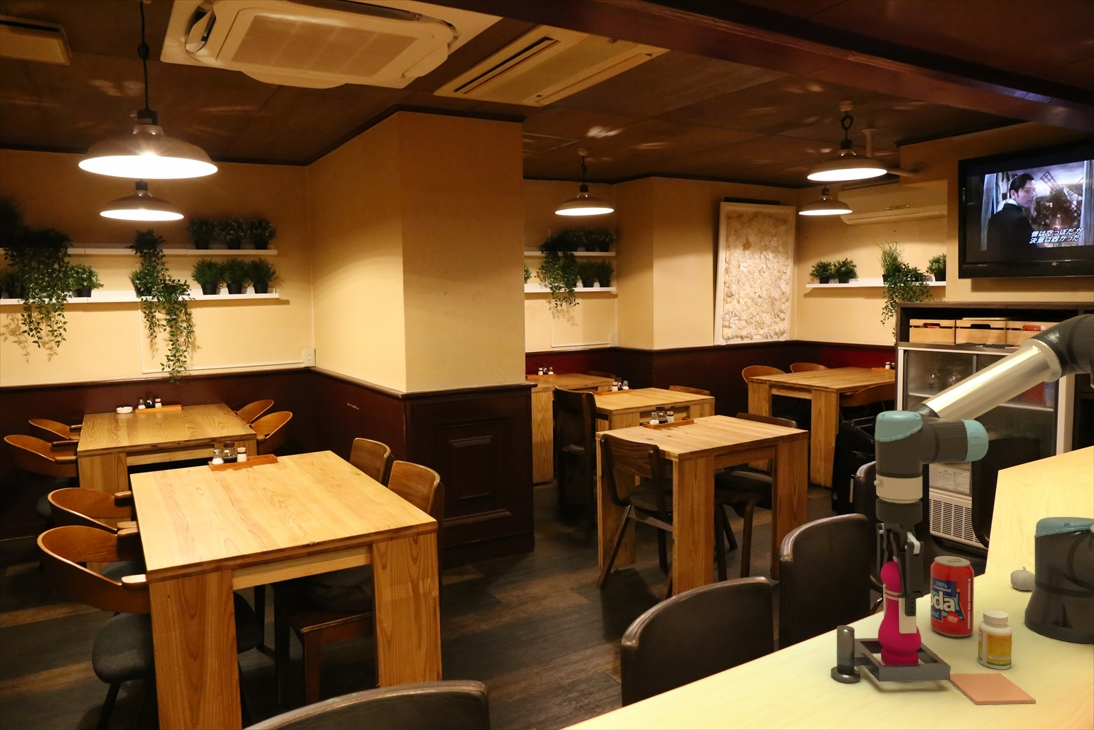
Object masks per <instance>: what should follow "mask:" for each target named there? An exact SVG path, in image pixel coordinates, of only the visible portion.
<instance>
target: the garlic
mask: <svg viewBox="0 0 1094 730" xmlns="http://www.w3.org/2000/svg"><path fill="white" fill-rule="evenodd" d="M1026 569H1027V568H1026V566H1022V569H1017V570H1013V571H1012V572H1011V573H1010V584H1011V585H1012V586H1013V587H1014V588H1015V587H1016V589H1017V588H1018V590H1019V589H1020V590H1019V591H1021V590H1028V591H1032V590H1034V587H1035V573H1033V572H1031V571H1029V570H1026ZM1031 589H1032V590H1031Z"/></svg>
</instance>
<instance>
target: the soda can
mask: <svg viewBox="0 0 1094 730" xmlns="http://www.w3.org/2000/svg"><path fill="white" fill-rule="evenodd" d="M974 570H975V569H973V567H972V566H971V562H970V560H968V559H966V558H963V557H957V556H950V555H940V556H936V557H934V561H933V563H932V564H931V565H930V608H929V609H930V615H929V616H930V622H929V623H930V626H931V628H932V629H933V630H934V631H935V632H936V633H939V634H940V633H941V634H940V635H942V634H943V636H945V635H946V637H949V636H951V638H963V637H964V636H965V637H967V636H970V635H972V634H973V632H974V625H975V624H974V617H975V616H974V614H975V613H974V611H975V607H974V603H975V601H974V599H975V571H974Z"/></svg>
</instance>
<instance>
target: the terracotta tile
mask: <svg viewBox="0 0 1094 730" xmlns="http://www.w3.org/2000/svg"><path fill="white" fill-rule="evenodd" d="M947 681H948V682H949V683H950V684H951V685H953V687H955V688H956V689H957V690H958V691H960V692H961V693H962V694H963V695H964V696H966V698H967V699H969V700H970V701H971V702H972V703H974V704H975V705H976V706H981V705H982V706H983V705H1015V704H1016V705H1018V704H1020V705H1022V704H1025V705H1026V704H1036V703H1037V702H1036V698H1034V697H1033V696H1032V695H1030V694H1029V693H1027V692H1026V691H1025V690H1024V689H1022V688H1021V687H1020V686H1018V685H1017V684H1015V682H1013V681H1011V680H1010V679H1008V678H1007V676H1005V675H1004V674H1002V673H1001V672H989V673H987V672H985V673H983V672H982V673H950V680H947Z"/></svg>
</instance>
